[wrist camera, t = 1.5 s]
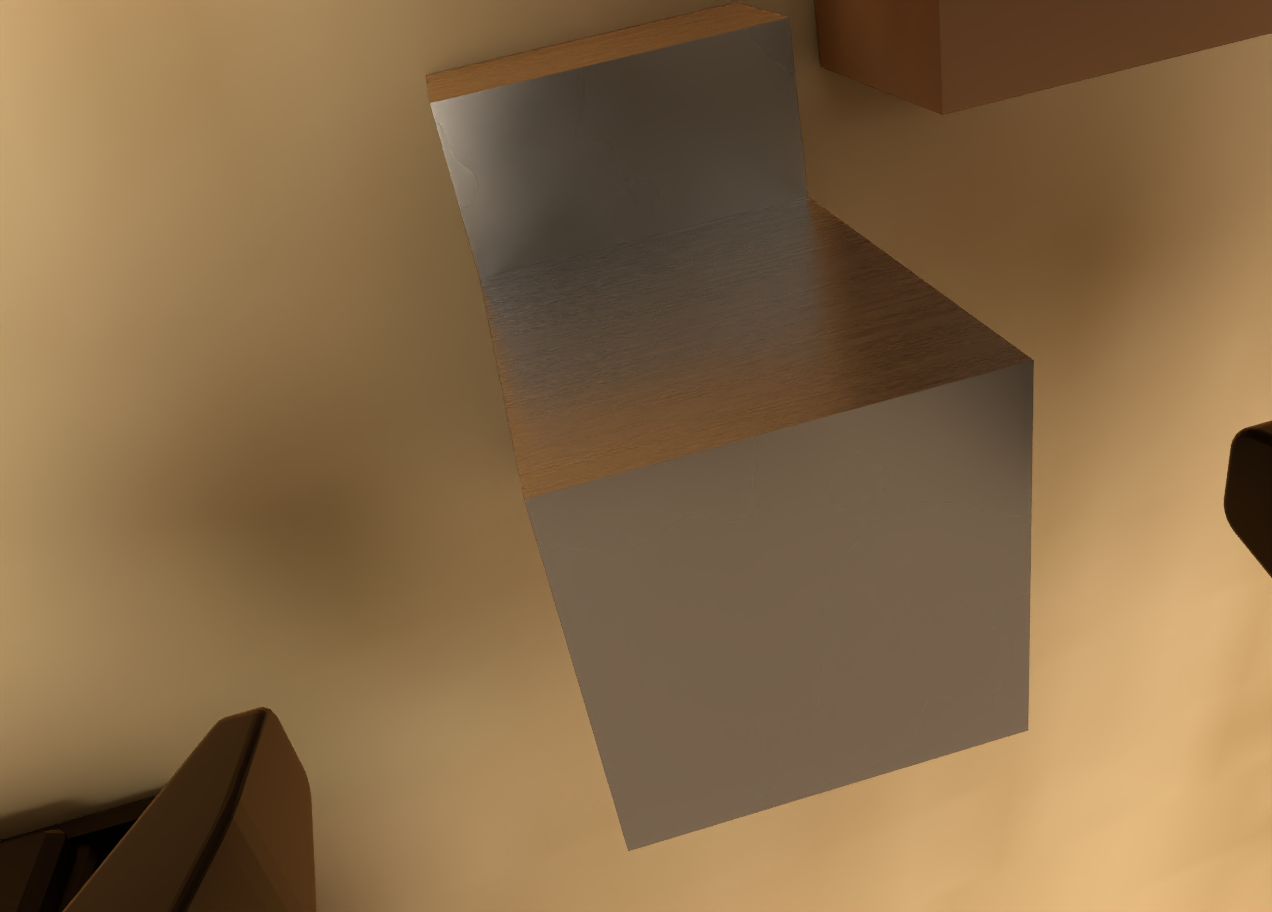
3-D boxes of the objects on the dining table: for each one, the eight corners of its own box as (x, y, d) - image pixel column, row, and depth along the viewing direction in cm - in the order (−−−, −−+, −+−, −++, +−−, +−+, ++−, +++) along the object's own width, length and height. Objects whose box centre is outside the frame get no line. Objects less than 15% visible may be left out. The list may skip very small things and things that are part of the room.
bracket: (789, 413, 16) (1027, 729, 10) (540, 480, 15) (628, 850, 9) (736, 1, 13) (1037, 92, 7) (425, 74, 12) (447, 238, 6)
